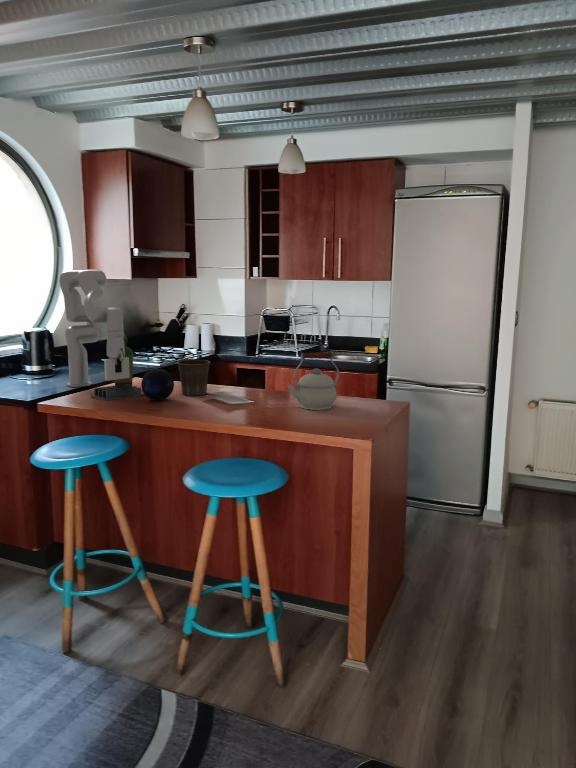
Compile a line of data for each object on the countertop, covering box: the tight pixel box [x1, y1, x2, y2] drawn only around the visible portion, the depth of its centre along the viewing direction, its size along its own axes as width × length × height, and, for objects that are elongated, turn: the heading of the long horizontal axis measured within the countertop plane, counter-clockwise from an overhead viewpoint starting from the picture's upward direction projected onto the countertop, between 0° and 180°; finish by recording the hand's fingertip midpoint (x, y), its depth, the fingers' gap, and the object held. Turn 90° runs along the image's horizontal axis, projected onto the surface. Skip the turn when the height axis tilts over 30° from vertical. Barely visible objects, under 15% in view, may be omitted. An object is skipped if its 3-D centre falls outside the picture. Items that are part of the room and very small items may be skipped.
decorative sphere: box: [140, 368, 175, 402], centre depth 294 cm, size 15×15×15 cm
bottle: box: [113, 333, 134, 386], centre depth 322 cm, size 11×11×28 cm
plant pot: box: [176, 359, 211, 397], centre depth 310 cm, size 16×16×16 cm
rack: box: [89, 384, 146, 402], centre depth 305 cm, size 14×22×4 cm, turn 133°
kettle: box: [286, 351, 340, 411], centre depth 281 cm, size 25×18×25 cm
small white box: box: [103, 357, 130, 381], centre depth 302 cm, size 2×12×10 cm, turn 134°
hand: (117, 371), depth 303 cm, fingers closed on small white box, 2 cm apart
